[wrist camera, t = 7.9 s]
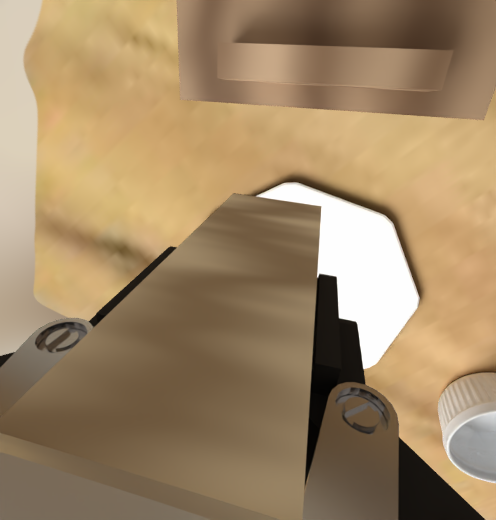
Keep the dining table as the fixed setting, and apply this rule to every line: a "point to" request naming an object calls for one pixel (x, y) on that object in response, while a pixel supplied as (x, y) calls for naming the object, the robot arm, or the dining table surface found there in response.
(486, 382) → the ramekin
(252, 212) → the rectangular block
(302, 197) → the plate
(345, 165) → the dining table surface
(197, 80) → the lid
